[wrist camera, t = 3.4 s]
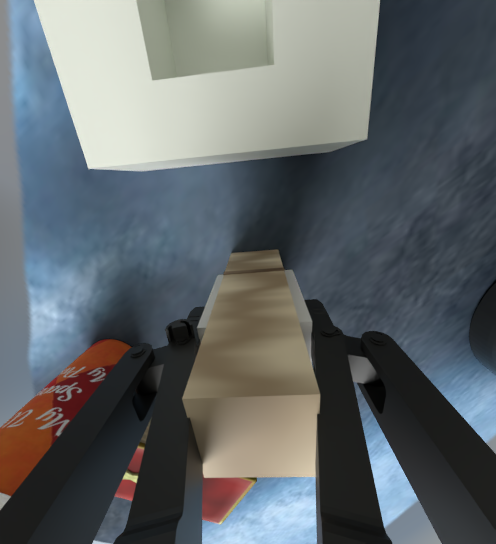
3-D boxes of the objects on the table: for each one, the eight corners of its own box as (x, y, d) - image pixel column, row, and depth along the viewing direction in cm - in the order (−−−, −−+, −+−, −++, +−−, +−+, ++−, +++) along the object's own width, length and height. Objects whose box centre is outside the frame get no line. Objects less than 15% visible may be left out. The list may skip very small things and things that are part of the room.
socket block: (340, -107, 12) (413, -355, 6) (330, 151, 16) (367, 139, 11) (85, -62, 13) (-45, -243, 7) (142, 171, 17) (88, 168, 12)
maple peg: (278, 249, 19) (321, 393, 6) (280, 291, 21) (317, 477, 8) (230, 252, 20) (180, 397, 7) (236, 294, 21) (203, 478, 8)
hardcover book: (223, 489, 35) (219, 528, 31) (84, 449, 32) (60, 486, 28) (256, 444, 30) (256, 484, 26) (98, 393, 28) (72, 429, 24)
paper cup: (133, 324, 23) (-28, 515, 10) (161, 380, 26) (65, 585, 13) (64, 337, 24) (-163, 527, 11) (99, 389, 27) (-48, 590, 14)
